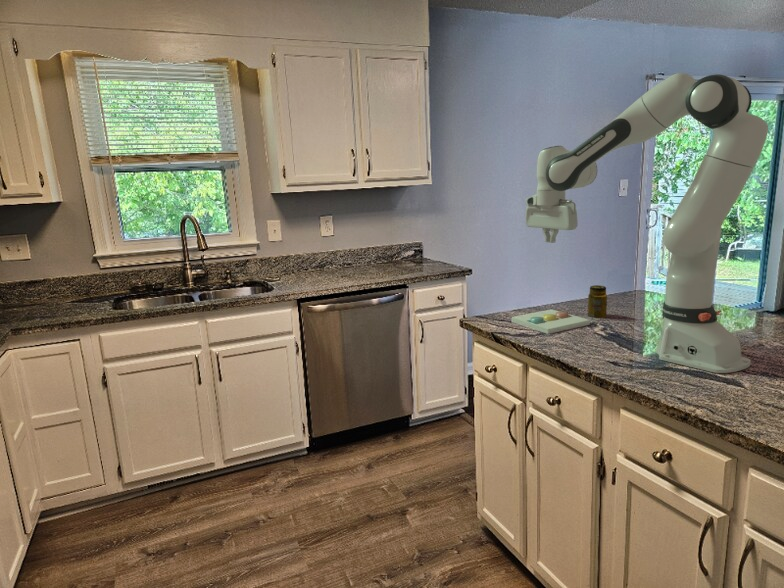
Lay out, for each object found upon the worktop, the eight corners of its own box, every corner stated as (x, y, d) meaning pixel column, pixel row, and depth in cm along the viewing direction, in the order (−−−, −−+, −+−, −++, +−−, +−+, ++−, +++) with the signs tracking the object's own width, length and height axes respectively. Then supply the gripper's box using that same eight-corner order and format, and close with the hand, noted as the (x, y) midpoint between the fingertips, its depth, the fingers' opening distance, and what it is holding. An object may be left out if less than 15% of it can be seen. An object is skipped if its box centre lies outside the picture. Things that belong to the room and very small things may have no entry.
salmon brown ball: (571, 323, 175) (571, 313, 174) (561, 325, 173) (561, 315, 172) (562, 320, 179) (562, 311, 178) (552, 322, 177) (553, 312, 176)
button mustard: (558, 326, 173) (558, 316, 172) (549, 328, 171) (549, 318, 170) (549, 323, 176) (550, 313, 176) (540, 325, 175) (540, 315, 174)
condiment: (610, 319, 179) (612, 285, 176) (600, 325, 173) (601, 290, 171) (590, 316, 184) (591, 283, 181) (579, 321, 178) (580, 288, 176)
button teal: (546, 328, 170) (546, 318, 170) (536, 330, 169) (536, 320, 168) (537, 325, 174) (537, 316, 173) (527, 328, 172) (527, 318, 172)
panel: (589, 328, 170) (589, 319, 169) (547, 338, 162) (547, 329, 161) (551, 317, 185) (551, 309, 185) (511, 325, 178) (511, 317, 177)
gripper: (583, 198, 155) (581, 244, 158) (536, 198, 174) (536, 239, 177) (567, 200, 153) (566, 246, 156) (522, 199, 171) (522, 240, 174)
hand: (550, 242), depth 166 cm, fingers closed
